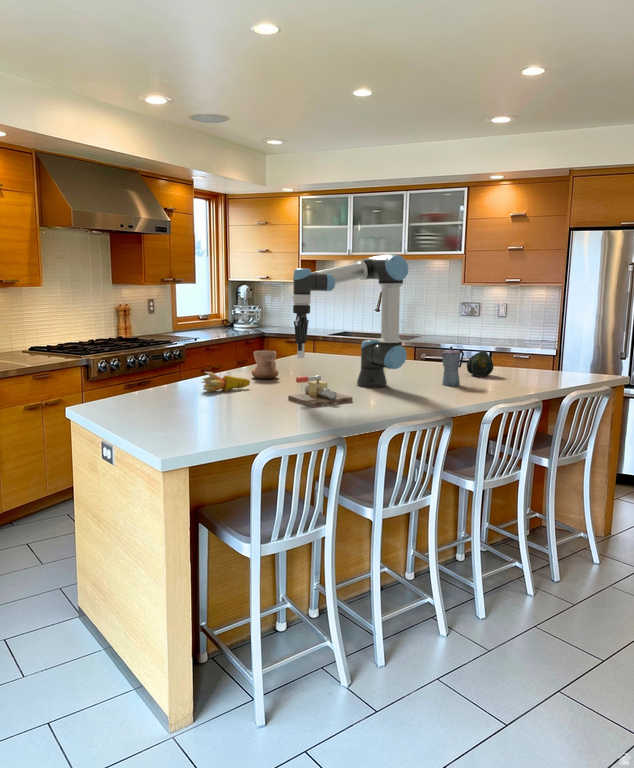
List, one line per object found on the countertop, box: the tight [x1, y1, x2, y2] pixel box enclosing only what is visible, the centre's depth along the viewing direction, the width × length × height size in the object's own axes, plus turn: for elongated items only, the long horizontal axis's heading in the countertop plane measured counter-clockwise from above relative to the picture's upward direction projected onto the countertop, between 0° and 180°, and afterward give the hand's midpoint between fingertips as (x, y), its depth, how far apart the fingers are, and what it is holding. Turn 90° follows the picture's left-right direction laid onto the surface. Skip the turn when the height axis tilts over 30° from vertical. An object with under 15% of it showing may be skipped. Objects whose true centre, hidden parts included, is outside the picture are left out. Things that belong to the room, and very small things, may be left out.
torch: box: [200, 371, 251, 393], centre depth 294 cm, size 8×8×25 cm
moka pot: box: [441, 346, 465, 387], centre depth 318 cm, size 10×15×20 cm, turn 127°
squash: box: [466, 350, 495, 377], centre depth 350 cm, size 14×15×15 cm
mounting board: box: [287, 392, 353, 408], centre depth 274 cm, size 22×18×2 cm
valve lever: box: [295, 374, 322, 384], centre depth 271 cm, size 12×3×2 cm, turn 126°
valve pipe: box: [304, 380, 337, 400], centre depth 273 cm, size 6×19×7 cm, turn 36°
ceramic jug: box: [251, 350, 279, 380], centre depth 330 cm, size 18×14×14 cm
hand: (300, 357), depth 275 cm, fingers closed
